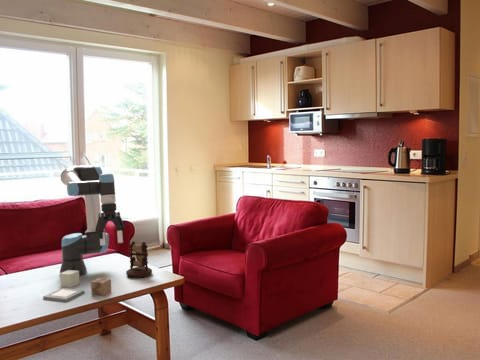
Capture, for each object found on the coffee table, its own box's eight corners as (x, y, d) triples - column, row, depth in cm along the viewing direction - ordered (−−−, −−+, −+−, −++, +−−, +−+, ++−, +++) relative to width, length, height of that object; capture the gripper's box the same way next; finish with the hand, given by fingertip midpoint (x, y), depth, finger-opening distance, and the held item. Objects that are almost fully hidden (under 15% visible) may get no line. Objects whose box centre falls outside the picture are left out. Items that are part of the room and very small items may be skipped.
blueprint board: (43, 299, 234) (43, 296, 234) (62, 290, 248) (62, 287, 248) (66, 301, 230) (66, 299, 230) (84, 292, 243) (84, 290, 243)
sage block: (60, 285, 256) (60, 273, 255) (69, 282, 263) (68, 269, 262) (71, 287, 254) (70, 274, 253) (79, 283, 260) (78, 270, 260)
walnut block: (91, 295, 240) (91, 281, 239) (99, 290, 247) (99, 277, 246) (103, 296, 238) (102, 283, 237) (111, 292, 244) (110, 279, 244)
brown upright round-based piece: (156, 272, 279) (155, 239, 277) (145, 279, 265) (144, 245, 263) (133, 270, 283) (132, 238, 281) (121, 278, 268) (120, 243, 266)
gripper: (97, 202, 232) (100, 245, 230) (129, 202, 254) (132, 241, 253) (85, 204, 235) (89, 246, 233) (118, 203, 257) (121, 242, 256)
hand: (111, 244), depth 243 cm, fingers open, 13 cm apart
